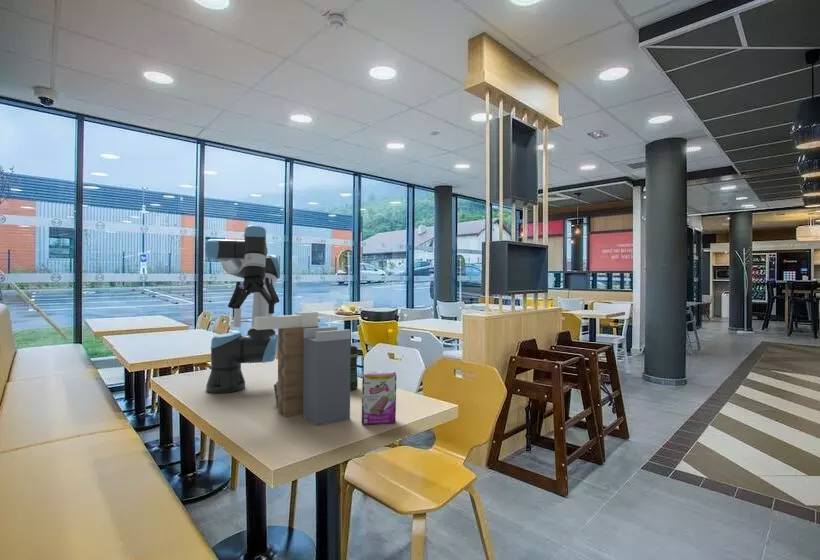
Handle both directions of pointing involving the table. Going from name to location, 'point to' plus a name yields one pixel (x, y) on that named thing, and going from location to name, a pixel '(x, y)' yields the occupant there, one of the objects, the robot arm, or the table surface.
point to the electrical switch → (276, 391)
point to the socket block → (326, 375)
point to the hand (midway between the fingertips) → (252, 325)
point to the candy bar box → (378, 397)
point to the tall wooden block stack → (290, 370)
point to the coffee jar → (353, 367)
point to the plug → (287, 321)
